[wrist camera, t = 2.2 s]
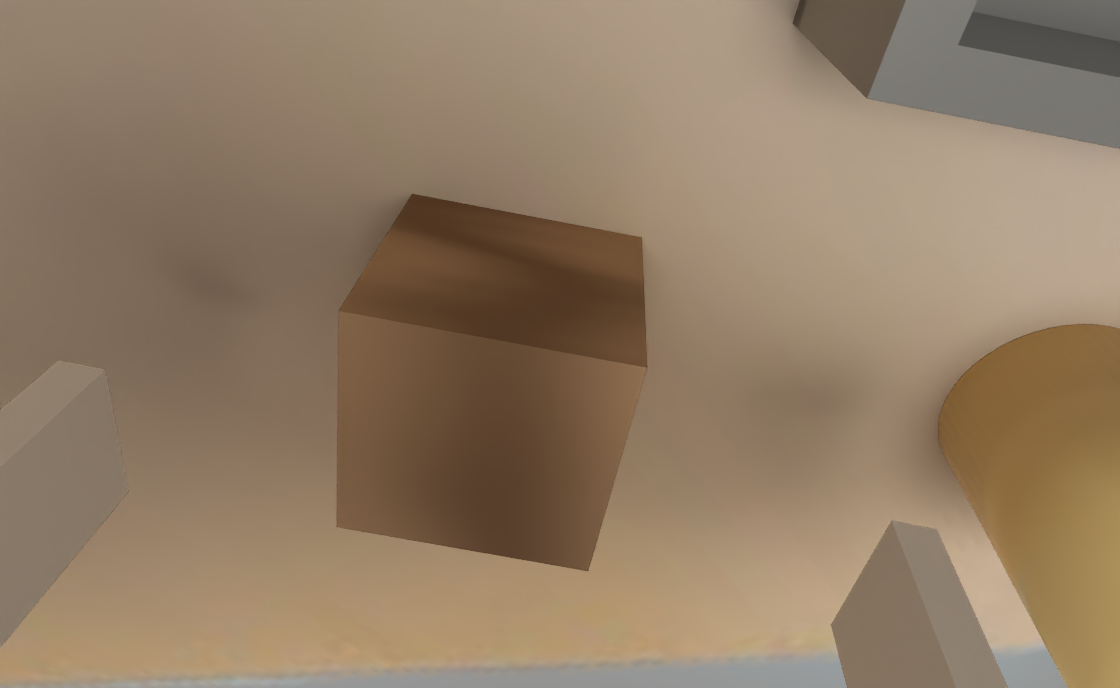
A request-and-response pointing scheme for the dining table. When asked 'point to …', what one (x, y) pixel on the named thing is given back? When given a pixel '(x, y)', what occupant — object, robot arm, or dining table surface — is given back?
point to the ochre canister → (1049, 484)
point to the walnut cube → (489, 381)
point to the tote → (981, 59)
